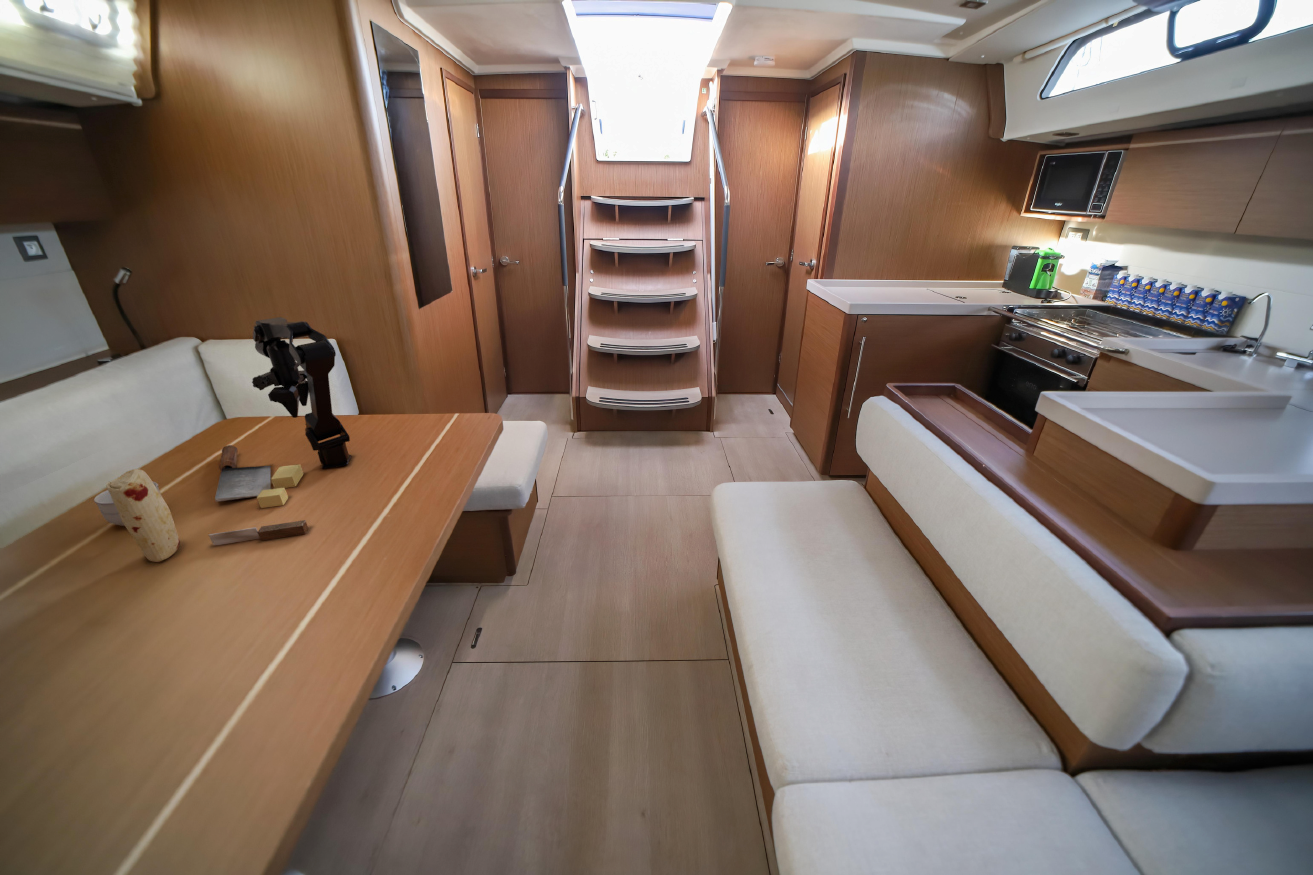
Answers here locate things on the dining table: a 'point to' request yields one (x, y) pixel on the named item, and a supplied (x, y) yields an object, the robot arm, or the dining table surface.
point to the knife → (260, 533)
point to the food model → (145, 514)
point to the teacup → (110, 507)
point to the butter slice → (272, 497)
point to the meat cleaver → (240, 478)
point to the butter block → (287, 476)
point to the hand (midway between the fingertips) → (300, 411)
